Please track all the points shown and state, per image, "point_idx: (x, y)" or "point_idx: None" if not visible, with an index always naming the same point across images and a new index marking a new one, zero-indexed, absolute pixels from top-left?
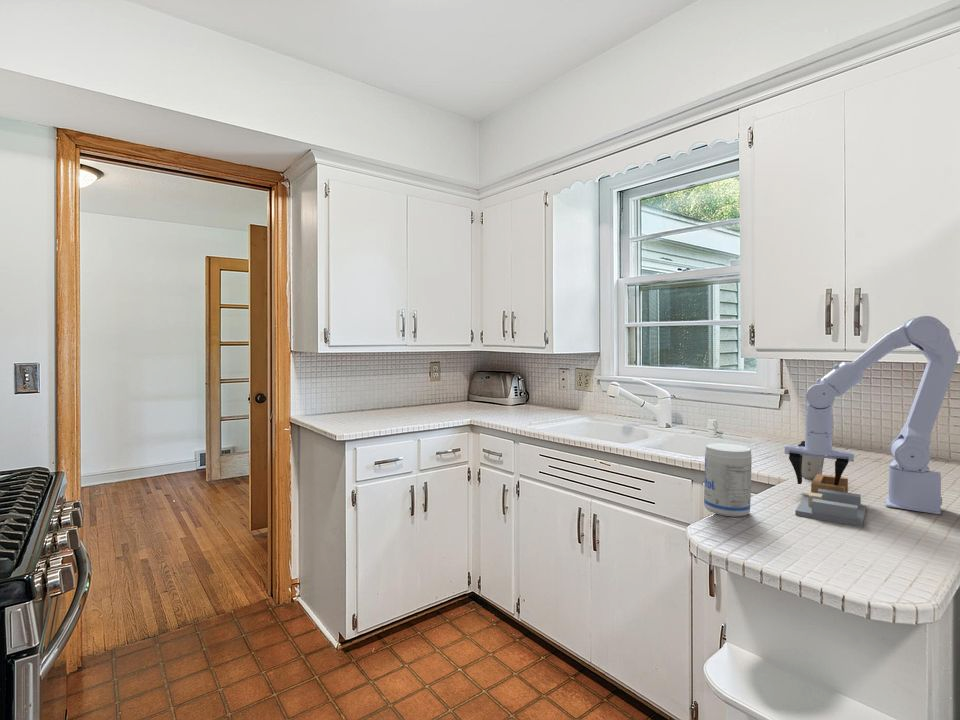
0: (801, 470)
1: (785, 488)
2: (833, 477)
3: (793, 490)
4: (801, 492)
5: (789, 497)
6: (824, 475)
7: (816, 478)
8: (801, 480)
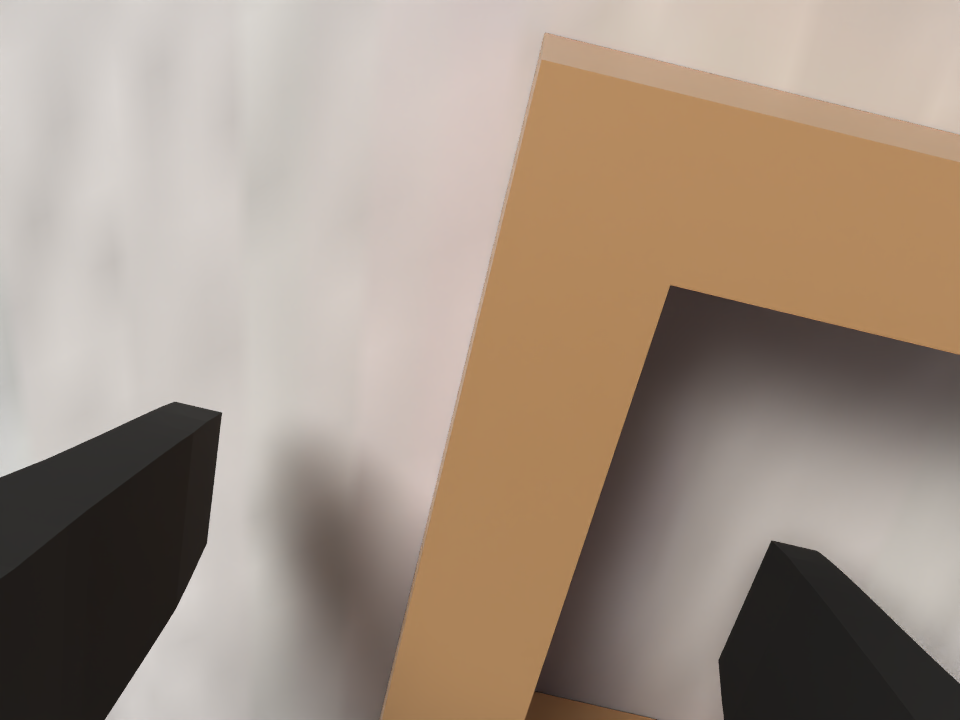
0: (86, 546)
1: (25, 242)
2: (888, 332)
3: (154, 327)
4: (271, 405)
5: (136, 710)
6: (703, 207)
7: (450, 600)
8: (193, 506)
